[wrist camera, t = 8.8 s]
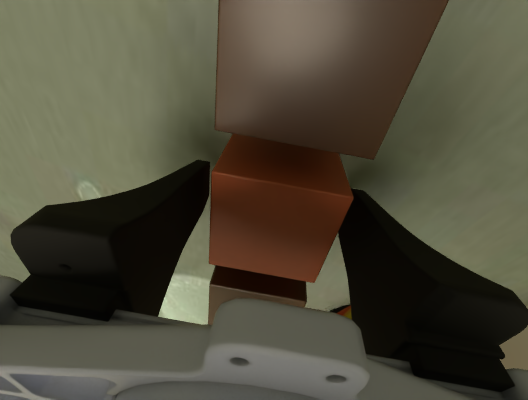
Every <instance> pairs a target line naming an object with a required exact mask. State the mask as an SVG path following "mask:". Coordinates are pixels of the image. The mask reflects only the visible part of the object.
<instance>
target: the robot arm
mask: <svg viewBox="0 0 528 400" xmlns="http://www.w3.org/2000/svg"><path fill="white" fill-rule="evenodd" d="M209 181H210V162H208V161H202V160H196V161H194V162H192V163H190V164H188V165H187V166H185V167H183V168H181V169H179V170H177V171H175V172H173V173H172V174H169V175H167V176H165V177H163V178H161V179H159V180H157V181H154V182H152V183H149V184H147V185H144V186H141V187H139V188H136V189H133V190H129V191H126V192H122V193H118V194H115V195H111V196H106V197H102V198H97V199H91V200H86V201H79V202H72V203H64V204H56V205H46V206H45V207H43V208H42V209H41V210H39V211H38V212H37V213H35V214H34V215H33V216H31V217H30V218H28V219H27V220H26V221H24V222H23V223H22V224H20V225H19V226H18V227H16V228H15V229H14V230H13V231H12V233H11V244H12V246H13V248H14V250H15V252H16V253H17V255H18V256H19V258H20V259H21V261H22V262H23V264H24V265H25V267H26V268H27V270H28V271H29V273H30V274H31V275H30V276H29V277H28V278H27V279H26V280H25V281H24V282H23V283H22V282H20V281H19V280H17V279H14V278H11V277H7V276H1V275H0V400H528V370H523V369H514V368H513V369H505V368H504V366H503V364H502V363H501V361H500V359H503V358H505V354H504V353H503V352H502V350H501V348H500V346H499V345H500V344H502V343H504V342H505V341H507V340H509V339H510V338H512V337H513V336H515V335H517V334H518V333H520V332H521V331H522V330H524V329H525V328H526V327H527V325H528V309H527V308H526V306H525V305H524V304H523V303H522V301H521V300H520V299H519V298H518V297H517V295H516V294H515V293H514V292H513V291H512V290H510V289H508V288H505V287H503V286H501V285H499V284H497V283H495V282H493V281H491V280H488V279H486V278H484V277H482V276H480V275H478V274H476V273H474V272H472V271H470V270H469V269H467V268H465V267H463V266H461V265H459V264H457V263H456V262H454V261H452V260H451V259H449V258H447V257H446V256H444V255H442V254H441V253H439V252H438V251H436V250H434V249H433V248H431V247H430V246H428V245H427V244H425V243H424V242H423V241H421V240H420V239H418V238H417V237H416V236H414V235H413V234H412V233H410V232H409V231H408V230H407V229H405V228H404V227H403V226H402V225H401V224H400V223H398V222H397V221H396V220H395V219H394V218H393V217H392V216H390V215H389V214H388V213H387V212H386V211H385V210H384V209H383V208H382V207H381V206H380V205H379V204H378V203H377V202H376V201H375V200H374V199H373V198H371V197H370V196H369V195H368V194H367V193H366V192H365V191H363V190H359V189H353V188H351V191H352V194H353V200H352V203H351V205H350V207H349V209H348V211H347V213H346V216H345V218H344V220H343V222H342V224H341V226H340V229H339V231H338V234H339V240H340V245H341V249H342V254H343V258H344V262H345V267H346V271H347V277H348V283H349V293H350V304H351V317H352V320H351V319H350V318H347V317H345V316H342V315H339V314H336V313H333V312H327V311H322V310H316V309H311V308H305V307H300V306H294V305H288V304H283V303H277V302H272V301H266V300H261V299H255V298H236V299H233V300H230V301H227V302H224V303H222V304H221V305H220V307H219V308H218V310H217V311H216V313H215V317H214V321H213V324H212V325H201V324H195V323H189V322H184V321H178V320H173V319H167V318H162V317H158V315H159V312H160V309H161V306H162V303H163V300H164V297H165V294H166V292H167V289H168V286H169V283H170V281H171V278H172V275H173V273H174V270H175V267H176V265H177V262H178V260H179V258H180V255H181V253H182V250H183V248H184V246H185V244H186V242H187V240H188V238H189V236H190V235H191V233H192V231H193V229H194V227H195V225H196V224H197V222H198V220H199V218H200V216H201V214H202V212H203V210H204V208H205V205H206V203H207V200H208V197H209Z"/></svg>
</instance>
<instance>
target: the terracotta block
mask: <svg viewBox="0 0 528 400" xmlns="http://www.w3.org/2000/svg"><path fill="white" fill-rule="evenodd" d="M352 200H353V194H352V191H351V188H350V185H349V182H348V180H347V177H346V174H345V171H344V168H343V165H342V162H341V159H340V156H339V153H335V152H330V151H325V150H319V149H314V148H308V147H303V146H298V145H292V144H287V143H282V142H276V141H271V140H266V139H260V138H255V137H250V136H244V135H239V134H234V133H233V134H232V136H231V138H230V140H229V142H228V143H227V145H226V147H225V149H224V151H223V152H222V154H221V156H220V158H219V160H218V161H217V163H216V165H215V167H214V169H213V170H212V175H211V209H210V244H209V264H213V265H218V266H224V267H229V268H235V269H240V270H246V271H251V272H257V273H262V274H268V275H273V276H279V277H284V278H290V279H295V280H301V281H306V282H312V283H314V282H315V280H316V278H317V276H318V274H319V272H320V270H321V267H322V265H323V263H324V261H325V259H326V257H327V255H328V252H329V250H330V248H331V246H332V244H333V242H334V239H335V237H336V235H337V233H338V231H339V229H340V226H341V224H342V222H343V220H344V218H345V216H346V213H347V211H348V209H349V207H350V205H351V203H352Z"/></svg>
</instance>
